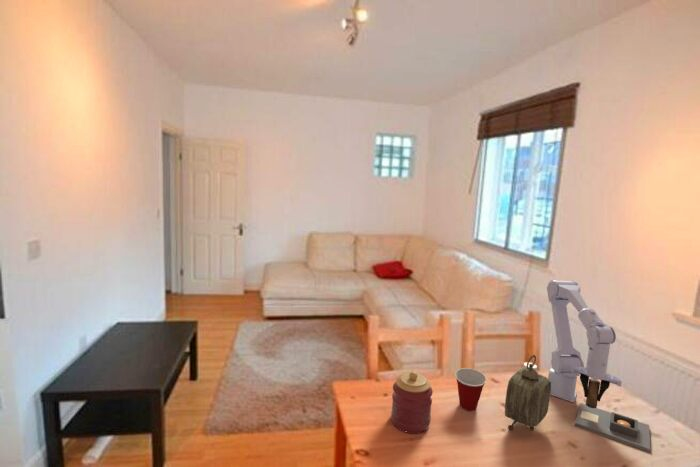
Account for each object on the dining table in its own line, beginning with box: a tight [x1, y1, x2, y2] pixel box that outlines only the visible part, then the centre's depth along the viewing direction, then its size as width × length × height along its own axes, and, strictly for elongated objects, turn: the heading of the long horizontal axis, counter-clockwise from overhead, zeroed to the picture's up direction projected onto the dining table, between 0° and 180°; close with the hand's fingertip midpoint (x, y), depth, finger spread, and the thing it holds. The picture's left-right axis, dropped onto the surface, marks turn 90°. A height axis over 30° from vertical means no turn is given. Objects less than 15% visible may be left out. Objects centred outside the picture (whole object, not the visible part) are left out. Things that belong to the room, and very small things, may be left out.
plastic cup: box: [454, 367, 487, 412], centre depth 136 cm, size 11×11×12 cm
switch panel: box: [574, 402, 651, 453], centre depth 129 cm, size 20×15×4 cm
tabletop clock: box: [504, 354, 551, 431], centre depth 125 cm, size 14×9×25 cm, turn 135°
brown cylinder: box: [585, 378, 601, 408], centre depth 131 cm, size 3×3×9 cm
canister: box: [390, 371, 434, 434], centre depth 126 cm, size 13×13×18 cm
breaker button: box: [617, 420, 631, 427], centre depth 126 cm, size 4×4×1 cm
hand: (592, 397), depth 131 cm, fingers closed on brown cylinder, 3 cm apart
